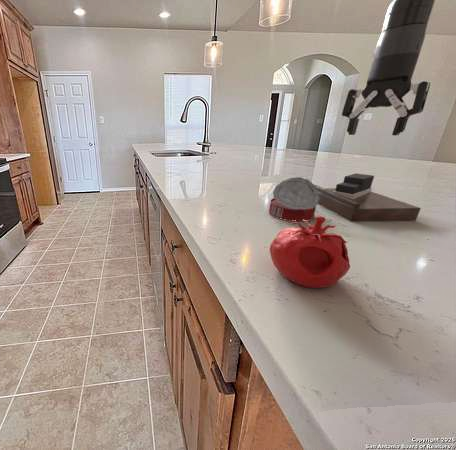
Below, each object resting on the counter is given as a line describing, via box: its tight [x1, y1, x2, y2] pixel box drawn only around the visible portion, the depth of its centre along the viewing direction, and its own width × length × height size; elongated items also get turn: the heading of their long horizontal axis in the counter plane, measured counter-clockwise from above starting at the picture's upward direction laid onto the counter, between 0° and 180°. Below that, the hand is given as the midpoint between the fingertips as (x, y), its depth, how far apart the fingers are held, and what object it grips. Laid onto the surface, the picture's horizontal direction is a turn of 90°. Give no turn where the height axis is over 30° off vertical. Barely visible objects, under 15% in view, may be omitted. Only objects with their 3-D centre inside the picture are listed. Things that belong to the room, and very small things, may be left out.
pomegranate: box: [269, 215, 351, 289], centre depth 35 cm, size 10×10×9 cm
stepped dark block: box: [333, 172, 375, 199], centre depth 64 cm, size 11×5×4 cm, turn 123°
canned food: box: [268, 176, 319, 222], centre depth 59 cm, size 11×10×10 cm
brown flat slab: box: [314, 184, 422, 222], centre depth 62 cm, size 14×18×4 cm
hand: (372, 135), depth 59 cm, fingers open, 8 cm apart
